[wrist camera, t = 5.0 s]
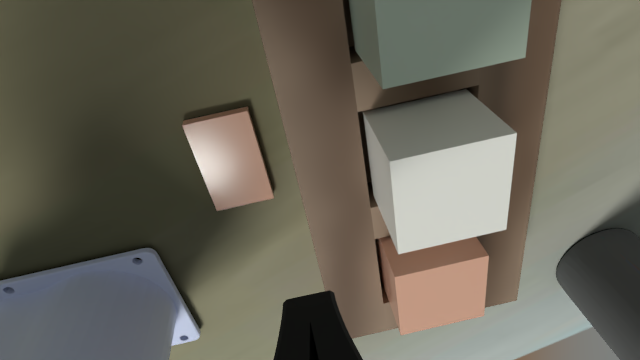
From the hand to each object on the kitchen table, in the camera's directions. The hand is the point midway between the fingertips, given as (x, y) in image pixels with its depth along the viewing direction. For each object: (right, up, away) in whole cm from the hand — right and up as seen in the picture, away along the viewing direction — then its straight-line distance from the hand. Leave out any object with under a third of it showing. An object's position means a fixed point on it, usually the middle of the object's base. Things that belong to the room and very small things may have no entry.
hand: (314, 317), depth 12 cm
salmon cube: (+5, 0, +12) cm, 13 cm away
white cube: (+4, +5, +7) cm, 10 cm away
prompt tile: (-4, +5, +9) cm, 11 cm away
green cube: (+3, +11, +3) cm, 12 cm away
